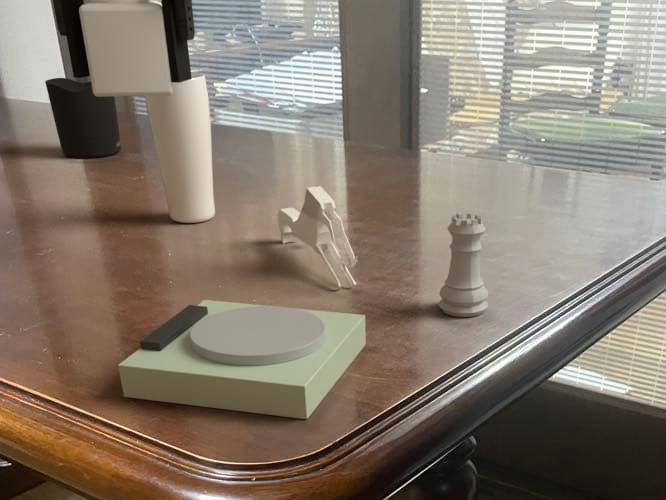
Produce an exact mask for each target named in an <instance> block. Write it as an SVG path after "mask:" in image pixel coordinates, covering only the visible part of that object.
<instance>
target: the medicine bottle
mask: <svg viewBox="0 0 666 500" xmlns="http://www.w3.org/2000/svg"><path fill="white" fill-rule="evenodd" d="M79 13H80V19H81V25H82V31H83V37H84V43H85V48H86V54H87V60H88V66H89V72H90V76H89V77H90V81H91V84H92V89H93V93H94V95H95V96H97V97H104V96H114V97H145V96H154V95H171V94H172V93H173V87H172V82H171V75H170V67H169V59H168V51H167V43H166V35H165V27H164V19H163V11H162V2H161V1H158V0H88V1H84V4H83V5H82V6H81V7H80V8H79Z"/></svg>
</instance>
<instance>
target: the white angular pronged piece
mask: <svg viewBox="0 0 666 500" xmlns="http://www.w3.org/2000/svg"><path fill="white" fill-rule="evenodd" d="M336 208H337V206H336V203H335V201H334V199H333V198H332V197H331V196H330V195H329V193H328V192H327V191H326V190H325V189H324V188H323V186H322V185H321V186H319V185H318V186H309V187H306V189H305V195H304V202H303V205H302V207H301V210H300V211H298V210H297V209H296V208H294V207H285V208H284V207H283V208H279V209H278V211H277V221H278V222H277V223H278V228H279V233H280V239H281V242H282V244H285V243H292V242H293V243H297V239H298V240H299V241H300V242H302V243H304V244H306V245H308V246H310V247H311V248H312V249H313V251H314V252H315V253H316V254H317V255H320V257H321V258H322V260H323V261H324V263H325V264H326V266H327V268H328V270H329V271H330V273H331V275H332V277H333V278H334V280H335V282H336V284H337V285H336V286H337V290H341V289H342V284H341V281H340V279H338V276H337V274H336V273H335V271H334V270H333V268H332V266H331V264H330V262H329V261H328V259H327V257H326V255H325V254H324V253H326V254H328V253H329V254H330V255H331V257H332V258H333V259H334V260H335V262H336V263H337V265H338V266H339V267H340V269H341V271H342V272H343V274H344V275H345V277H346V278H347V280H348V281H349V288H350V289H352V288H354V287H355V286H356V285H357V282H356V281H355V280H354V279H355V278H353V276H352V274H351V273H350V271H349V269H348V267H351V270H353V269H354V268H355V267H356V266H357V264H358V263H359V262H360V261H359V260H358V258H359V255H356V256H355V254H354V251H353V248H352V246H351V243H350V241H349V239H348V236H347V235H346V233H345V229H344V224H343V220H342V218H341V217H340V216H339V215H338V214H337V212H336ZM332 222H333V223H335V224H336V226H338V228H339V230H340V233H341V237H342V242H343V245H344V248H345V250H346V253H347V255H348V258H349V260H350V264H349V265H348V267H347V266H346V264H345V261H344V258H343V257H342V256H341V252H340V251H339V248H338V246H337V243H336V240H335V234H334V229H333V225H332ZM321 247H322V248H321Z"/></svg>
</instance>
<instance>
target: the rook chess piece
mask: <svg viewBox="0 0 666 500" xmlns="http://www.w3.org/2000/svg"><path fill="white" fill-rule="evenodd" d="M473 215H474V218H473ZM446 230H448V232H449V234H450V236H451V243H450V245H449V248H450V250H451V253H450V264H449V269H448V270H449V271H448V275H447V278H446V279H445V280H444V285H443V286H442V287H441V288H440V290H439V293H438V294H439V297H440V298H441V299H439V302H438V304H437V305H438V306H439V308H440V309H441V311H442V313H444V314H446V315H448V316H451V317H457V318H472V317H477V316H480V315H482V314H484V312H485V311H486V310H487V309H488V308H489V303H488V301H486V300H487V298H488V297H489V291H488V290H487V288H486V286H485V285H484V283H485V281H484V280H483V278H482V273H481V264H480V261H481V260H480V252H481V250H482V248H483V246H482V245H481V237H482V235H483V234H485V233H484V232H485V231H486V230H487V228H486V227H485V225H484V224H483V217H482V215H480V214H478V213H477V214H474V213H472V212H466V218H463V213H461V212H459V213H456V215H455V214H453V215H452V216H451V223H450V224H448V226H447V227H446Z"/></svg>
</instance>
